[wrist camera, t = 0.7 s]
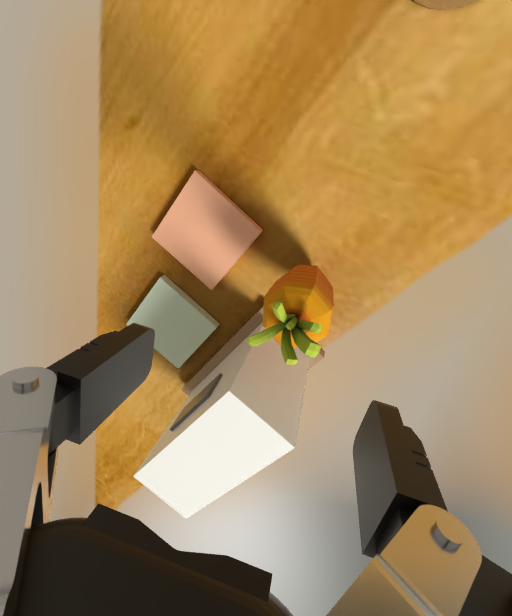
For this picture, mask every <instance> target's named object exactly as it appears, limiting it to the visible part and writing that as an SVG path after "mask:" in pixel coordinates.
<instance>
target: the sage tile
mask: <svg viewBox="0 0 512 616" xmlns="http://www.w3.org/2000/svg"><path fill="white" fill-rule="evenodd" d="M132 323H137V324H140V325H143V326H146V327H149V328H152V329H154V331H155V340H154V349H155V350H157V351H158V352H159V353H160V354H161V355H162V356H164V357H165V358H166V359H167V360H168V361H169V362H171V363H172V364H173V365H174V366H175V367H176V368H178V369H179V368H180V367H181V366H182V364H183V363H184V362H185V361H186V360H187V359H188V358H189V357H190V356H191V355H192V354H193V353H194V352H195V350H196V349H197V348H198V347H199V346H200V345H201V344H202V343H203V342H204V341H205V340H206V339H207V338H208V337H209V335H210V334H211V333H212V332H213V331H214V330H215V329H216V328H217V327H218V326H219V324H220V323H219V322H217V321H216V320H215V319H214V318H213V317H212V316H211V315H209V314H208V313H207V312H206V311H205V310H204V309H203V308H202V307H200V306H199V305H198V304H197V303H196V302H195V301H194V300H192V299H191V298H190V297H189V296H188V295H187V294H186V293H185V292H183V291H182V290H181V289H180V288H179V287H178V286H177V285H176V284H174V283H173V282H172V281H171V280H170V279H169V278H168V277H166V276H165V275H163V276H162V277H160V278H159V279H158V281H157V282H156V283H155V285H154V286H153V288H152V289H151V290H150V292H149V293H148V295H147V296H146V297H145V299H144V300H143V302H142V303H141V304H140V306H139V307H138V309H137V310H136V311H135V313H134V314H133V315H132V317H131V318H130V320H129V321H128V322H127V324H126V325H127V326H129V325H130V324H132Z"/></svg>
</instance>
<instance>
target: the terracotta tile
mask: <svg viewBox="0 0 512 616" xmlns="http://www.w3.org/2000/svg"><path fill="white" fill-rule="evenodd" d="M262 231H263V229H262V228H260V227H259V226H258V225H257V224H256V223H255V222H254V221H253V220H252V219H251V218H250V217H249V216H248V215H246V214H245V213H244V212H243V211H242V210H241V209H240V208H239V207H238V206H237V205H236V204H235V203H234V202H233V201H231V200H230V199H229V198H228V197H227V196H226V195H225V194H224V193H223V192H222V191H221V190H220V189H219V188H217V187H216V186H215V185H214V184H213V183H212V182H211V181H210V180H209V179H208V178H207V177H206V176H205V175H204V174H202V173H201V172H200V171H198V170H195V171H194V172H193V174H192V175H191V177H190V179H189V180H188V182H187V183H186V185H185V186H184V188H183V189H182V191H181V192H180V194H179V195H178V197H177V199H176V200H175V202H174V203H173V205H172V206H171V208H170V209H169V211H168V212H167V214H166V216H165V217H164V219H163V220H162V222H161V223H160V225H159V226H158V228H157V229H156V231H155V232H154V234H153V236H152V238H153V239H155V240H156V241H157V242H158V243H159V244H160V245H161V246H162V247H164V248H165V249H166V250H167V251H168V252H169V253H170V254H171V255H172V256H174V257H175V258H176V259H177V260H178V261H179V262H180V263H181V264H183V265H184V266H185V267H186V268H187V269H188V270H189V271H190V272H192V273H193V274H194V275H195V276H196V277H197V278H198V279H199V280H200V281H202V282H203V283H204V284H205V285H206V286H207V287H208V288H209V289H211V290H213V289H214V288H215V287H216V286H217V284H218V283H219V282H220V281H221V280H222V278H223V277H224V276H225V275H226V274H227V273H228V271H229V270H230V269H231V268H232V267H233V265H234V264H235V263H236V262H237V261H238V260H239V258H240V257H241V256H242V255H243V254H244V253H245V251H246V250H247V249H248V248H249V247H250V245H251V244H252V243H253V242H254V241H255V240H256V238H257V237H258V236H259V235H260V234H261V233H262Z"/></svg>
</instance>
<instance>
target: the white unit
mask: <svg viewBox="0 0 512 616" xmlns="http://www.w3.org/2000/svg"><path fill="white" fill-rule="evenodd" d="M262 323H263V306H262V307H261V308H260V309H259V310H258V311H257V312H256V313H255V314H254V315H253V316H252V317H251V318H250V319H249V320H248V321H247V322H246V323H245V325H244V326H243V327H242V328H241V329H240V330H239V331H238V332H237V333H236V334H235V335H234V336H233V337H232V338H231V339H230V340H229V341H228V342H227V343H226V344H225V345H224V346H223V347H222V348H221V349H220V350H219V351H218V352H217V353H216V354H215V355H214V356H213V357H212V358H211V359H210V360H209V361H208V362H207V363H206V364H205V365H204V366H203V367H202V368H201V369H200V370H199V371H198V372H197V373H196V374H195V375H194V376H193V377H192V378H191V379H190V380H189V381H188V382H187V383H186V384H185V386H184V387H183V388H182V391H183V392H185V393H186V394H187V395H188V397H187V399H186V400H185V402H184V403H183V405H182V406H181V408H180V409H179V411H178V412H177V413H176V415H175V416H174V418H173V419H172V421H171V422H170V424H169V425H168V427H167V428H166V429H165V431H164V432H163V434H162V435H161V437H160V438H159V440H158V441H157V443H156V444H155V445H154V447H153V448H152V450H151V451H150V453H149V454H148V456H147V457H146V458H145V460H144V461H143V463H142V464H141V466H140V467H139V469H138V470H137V472H136V473H135V474H134V477H135V478H136V479H137V480H139V481H140V482H141V483H142V484H143V485H145V486H146V487H147V488H148V489H150V490H151V491H152V492H154V493H155V494H156V495H157V496H158V497H160V498H161V499H162V500H163V501H165V502H166V503H167V504H168V505H170V506H171V507H172V508H173V509H175V510H176V511H177V512H178V513H180V514H181V515H182V516H183V517H184V518H186V519H187V518H188V517H190V516H191V515H192V514H194V513H196V512H197V511H199V510H200V509H202V508H203V507H205V506H206V505H208V504H209V503H211V502H212V501H214V500H216V499H217V498H219V497H220V496H222V495H223V494H225V493H226V492H228V491H229V490H231V489H232V488H234V487H235V486H237V485H239V484H240V483H242V482H243V481H245V480H246V479H248V478H249V477H251V476H252V475H254V474H255V473H257V472H258V471H260V470H261V469H263V468H264V467H266V466H267V465H269V464H270V463H272V462H274V461H275V460H276V459H278V458H280V457H281V456H283V455H284V454H286V453H287V452H289V451H290V450H292V449H294V448H295V444H296V438H297V432H298V426H299V420H300V414H301V408H302V402H303V396H304V390H305V384H306V377H307V372H308V370H309V369H310V368H311V367H313V366H314V365H315V364H316V363H318V362H319V361H320V360H321V359H323V358H324V353H325V351H324V350H322V349H321V348H320V351H319V353H318V354H317V356H316V357H310V356H308V355H306V354H304V353H303V352H302V351H301V350H300V349H299V348H294V347H293V349H294V351H295V354H296V356H297V359H298V361H297V364H295V365H288V364H285V361H284V359H283V356H282V351H281V345H279V344H278V343H277V342H276V341H275V339H274V338H273V337H272V338H271V339H269V340H268V341H267V342H265V343H263V344H260V345H258V346H253V347H251V346H250V345H249V344H248V342H247V340H246V339H247V338H248V337H250V336H252V335H254V334H257V333H259V332H261V331H264V330H266V329H265V328H264V327H263V324H262Z"/></svg>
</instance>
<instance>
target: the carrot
mask: <svg viewBox="0 0 512 616" xmlns="http://www.w3.org/2000/svg"><path fill="white" fill-rule="evenodd" d="M333 306H334V303H333V288H332V286H331V284H330V282H329V281H328V279H327V278H326V277H325V275H324V274H323V273H322V272H321V271H320V269H319V268H318V267H317V266H312V265H303V264H300V265H297V266H295V267H294V268H292V269H291V270H290V271H289V272H287V273H286V274H285V275H284V276H282V277H281V278H280V279H279V280H277V281H276V282H275V284H274V285H273V286H272V287H271V288H270V290H269V291H268V293H267V294H266V295H265V297H264V304H263V323H262V324H263V327H264V328H265V329H266V330H264V331H261V332H259V333H257V334H254V335H252V336H250V337H248V338H247V339H246V340H247V342H248V344H249V345H250V346H251V347H253V346H258V345H260V344H263V343H265V342H267V341H268V340H269V339H271V338H272V337H273V338H274V339H275V341H276V342H277V343H278V344H279V345H281V351H282V356H283V359H284V361H285V364H288V365H295V364H297V361H298V359H297V356H296V354H295V351H294V349H293V347H294V348H299V349H300V350H301V351H302V352H303V353H304V354H306V355H308V356H310V357H316V356H317V354H318V353H319V351H320V348H321V346H320V345H319V344H317V343H316V342H318V341H320V340H321V339H323V338H324V337H326V336H327V335H328V334H329V332H330V326H331V319H332V312H333Z"/></svg>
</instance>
